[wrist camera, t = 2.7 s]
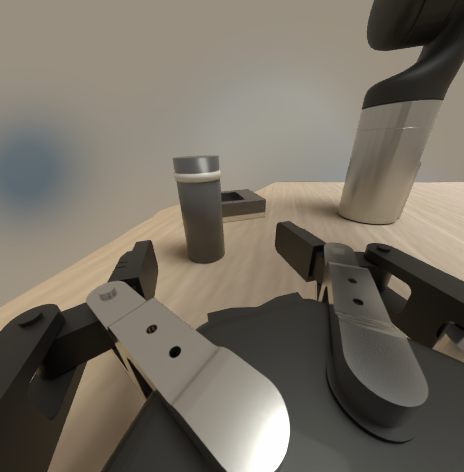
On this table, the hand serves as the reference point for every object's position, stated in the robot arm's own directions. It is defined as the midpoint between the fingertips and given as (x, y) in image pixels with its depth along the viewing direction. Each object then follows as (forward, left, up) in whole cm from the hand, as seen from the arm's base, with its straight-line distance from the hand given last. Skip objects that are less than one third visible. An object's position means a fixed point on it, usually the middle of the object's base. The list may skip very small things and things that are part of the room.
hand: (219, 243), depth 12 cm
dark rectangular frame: (-6, -26, -7) cm, 28 cm away
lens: (0, -11, -7) cm, 13 cm away
